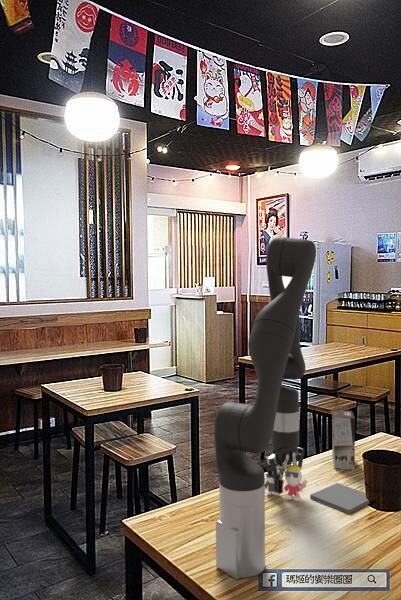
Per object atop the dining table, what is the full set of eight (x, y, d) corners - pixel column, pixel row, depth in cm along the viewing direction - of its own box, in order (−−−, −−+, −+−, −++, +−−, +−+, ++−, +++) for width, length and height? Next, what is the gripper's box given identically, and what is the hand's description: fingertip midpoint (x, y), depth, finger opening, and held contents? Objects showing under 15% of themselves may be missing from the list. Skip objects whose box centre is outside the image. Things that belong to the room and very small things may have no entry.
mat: (349, 513, 126) (349, 510, 126) (310, 498, 135) (310, 494, 135) (375, 500, 134) (375, 496, 134) (337, 486, 143) (337, 482, 143)
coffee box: (355, 470, 155) (355, 418, 154) (333, 468, 156) (333, 417, 156) (352, 459, 164) (352, 410, 163) (332, 458, 165) (331, 409, 165)
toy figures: (261, 492, 138) (261, 462, 138) (268, 487, 142) (268, 457, 141) (302, 503, 131) (302, 471, 131) (309, 497, 135) (309, 466, 135)
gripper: (277, 435, 128) (277, 502, 129) (313, 425, 138) (313, 487, 138) (256, 429, 134) (256, 492, 135) (291, 419, 143) (291, 479, 144)
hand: (285, 489), depth 136 cm, fingers closed on toy figures, 4 cm apart
